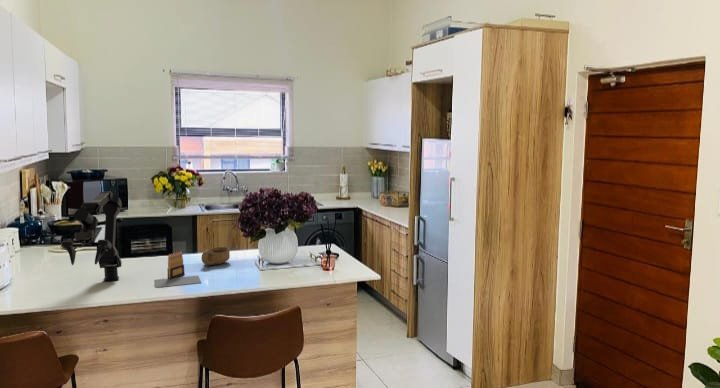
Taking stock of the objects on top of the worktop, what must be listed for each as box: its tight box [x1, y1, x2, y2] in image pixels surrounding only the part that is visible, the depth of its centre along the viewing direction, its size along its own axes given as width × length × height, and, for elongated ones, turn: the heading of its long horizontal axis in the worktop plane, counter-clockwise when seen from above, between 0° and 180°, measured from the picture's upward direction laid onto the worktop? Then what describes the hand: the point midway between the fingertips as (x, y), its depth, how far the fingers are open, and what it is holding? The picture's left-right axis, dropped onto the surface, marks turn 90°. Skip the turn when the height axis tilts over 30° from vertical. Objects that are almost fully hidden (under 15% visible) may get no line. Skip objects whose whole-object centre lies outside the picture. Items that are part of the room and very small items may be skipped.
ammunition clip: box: [167, 250, 186, 279], centre depth 266 cm, size 11×2×12 cm, turn 162°
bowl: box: [201, 246, 231, 266], centre depth 293 cm, size 18×14×10 cm
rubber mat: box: [154, 275, 202, 289], centre depth 259 cm, size 14×20×1 cm
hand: (84, 264), depth 231 cm, fingers open, 9 cm apart
